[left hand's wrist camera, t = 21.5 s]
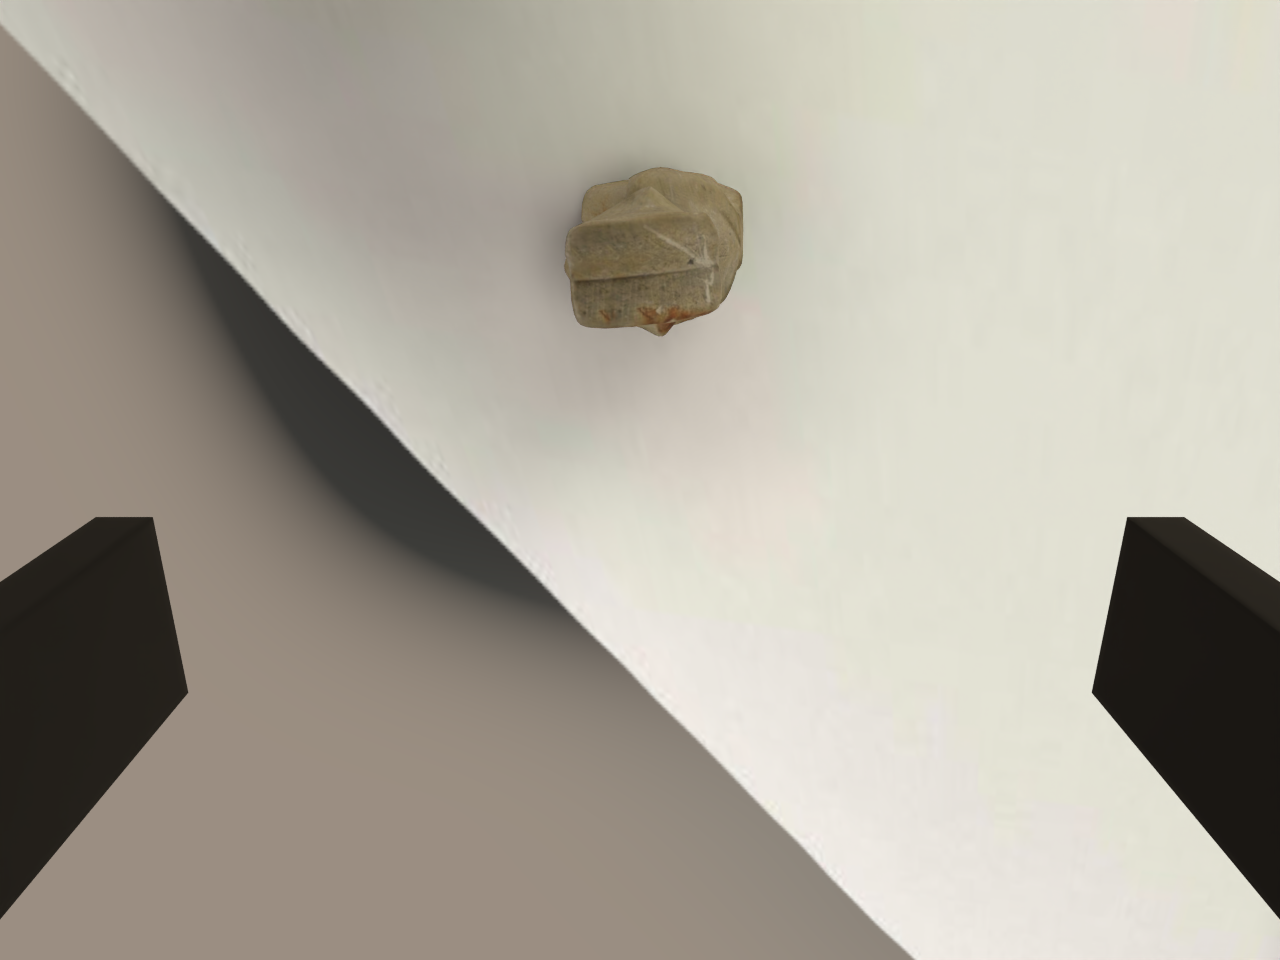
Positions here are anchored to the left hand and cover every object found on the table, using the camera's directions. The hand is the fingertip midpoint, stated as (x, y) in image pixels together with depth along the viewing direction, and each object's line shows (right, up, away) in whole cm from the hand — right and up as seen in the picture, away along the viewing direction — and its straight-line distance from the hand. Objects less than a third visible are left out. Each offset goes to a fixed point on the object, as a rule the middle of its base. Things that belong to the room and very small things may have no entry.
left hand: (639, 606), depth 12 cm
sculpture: (+1, +14, +30) cm, 33 cm away
